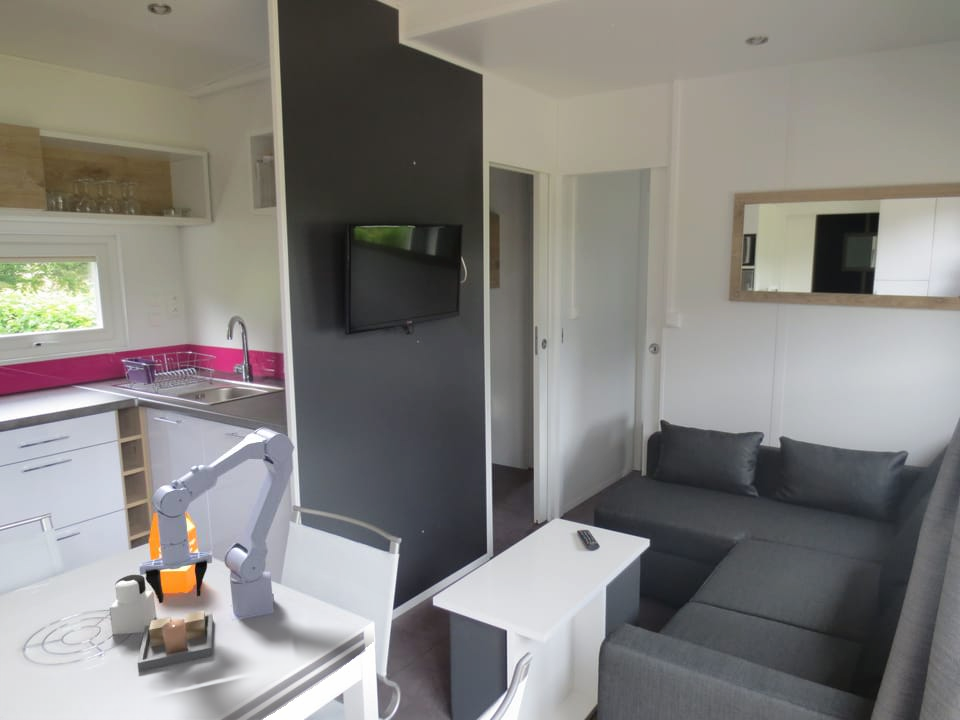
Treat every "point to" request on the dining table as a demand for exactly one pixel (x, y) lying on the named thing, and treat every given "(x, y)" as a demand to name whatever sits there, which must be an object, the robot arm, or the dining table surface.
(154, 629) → the birch block
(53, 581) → the dining table surface
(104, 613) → the dining table surface
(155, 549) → the orange juice
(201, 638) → the tray
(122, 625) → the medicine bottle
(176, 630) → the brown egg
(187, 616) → the birch block
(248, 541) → the robot arm
